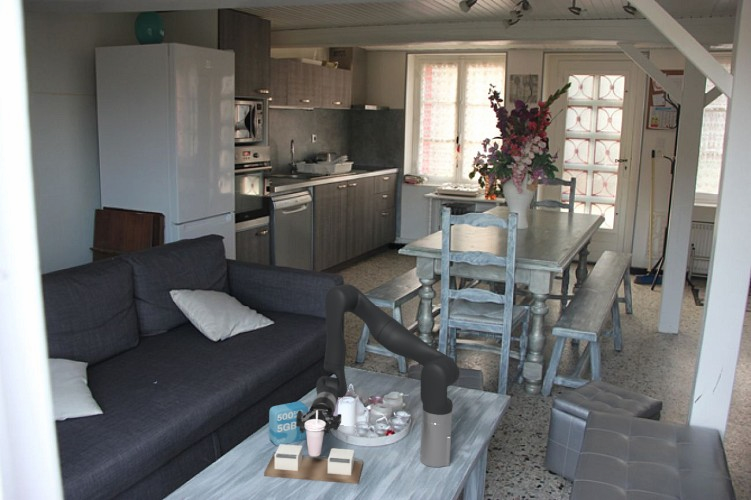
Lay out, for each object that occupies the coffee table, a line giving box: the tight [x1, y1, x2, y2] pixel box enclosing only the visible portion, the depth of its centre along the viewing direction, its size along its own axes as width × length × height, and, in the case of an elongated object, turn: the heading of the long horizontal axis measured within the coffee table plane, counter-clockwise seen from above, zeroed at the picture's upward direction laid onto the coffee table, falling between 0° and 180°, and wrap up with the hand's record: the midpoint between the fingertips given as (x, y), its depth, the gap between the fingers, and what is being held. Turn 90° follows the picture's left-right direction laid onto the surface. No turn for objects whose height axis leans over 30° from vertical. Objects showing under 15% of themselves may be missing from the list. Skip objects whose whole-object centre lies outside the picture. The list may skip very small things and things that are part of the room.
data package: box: [268, 400, 309, 447], centre depth 227 cm, size 12×4×12 cm, turn 122°
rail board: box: [263, 444, 364, 485], centre depth 209 cm, size 28×12×6 cm, turn 85°
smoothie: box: [304, 410, 326, 456], centre depth 208 cm, size 6×6×14 cm
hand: (313, 431), depth 205 cm, fingers closed on smoothie, 6 cm apart
